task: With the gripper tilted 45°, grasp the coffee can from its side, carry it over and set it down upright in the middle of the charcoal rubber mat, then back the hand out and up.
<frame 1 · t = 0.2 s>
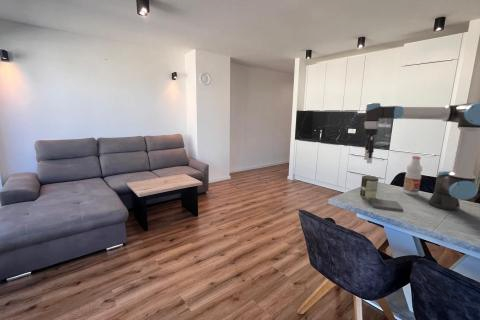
hand: (367, 161, 150), 28 cm above the table, tool pointing down, fingers open, 13 cm apart
mat: (385, 205, 150), on the table
coffee can: (367, 197, 166), on the table
fruit juice: (410, 193, 175), on the table
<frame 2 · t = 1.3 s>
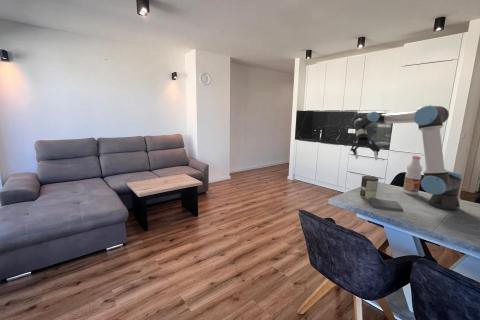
hand: (366, 158, 170), 26 cm above the table, tool tilted 45°, fingers open, 13 cm apart
nothing on the table moved.
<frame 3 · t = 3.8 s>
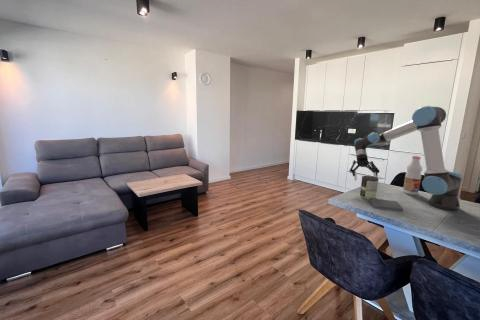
hand: (365, 180, 169), 11 cm above the table, tool tilted 45°, fingers open, 13 cm apart
nothing on the table moved.
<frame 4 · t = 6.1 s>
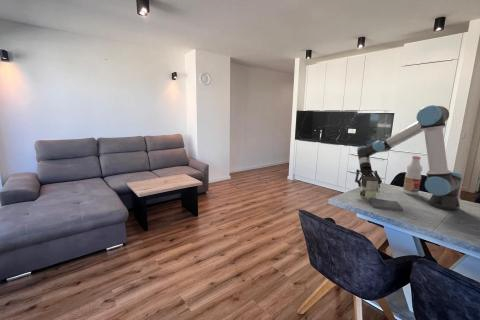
hand: (370, 191, 162), 5 cm above the table, tool tilted 45°, fingers closed on coffee can, 10 cm apart
coffee can: (367, 196, 166), on the table, touching gripper
everything else where it was.
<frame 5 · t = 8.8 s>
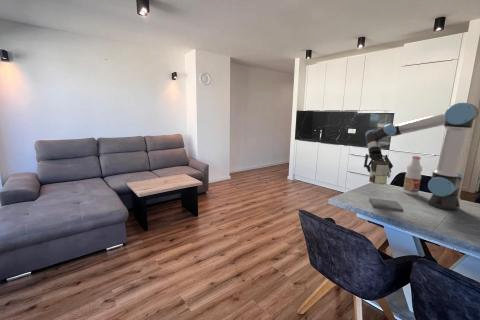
hand: (380, 176, 151), 18 cm above the table, tool tilted 45°, fingers closed on coffee can, 10 cm apart
coffee can: (377, 182, 155), point 13 cm above the table, touching gripper
everything else where it was.
when the fingers open (10 cm above the table, at t = 11.8 s): coffee can drops 4 cm, resting on mat.
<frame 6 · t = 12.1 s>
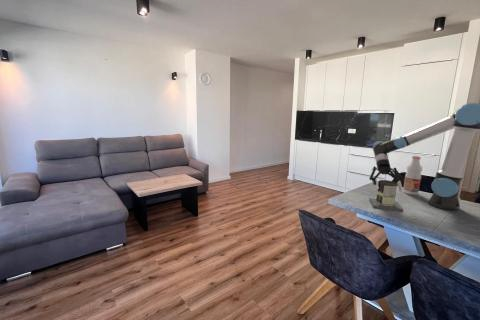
hand: (389, 190, 146), 11 cm above the table, tool tilted 45°, fingers open, 13 cm apart
coffee can: (384, 203, 150), point 1 cm above the table, touching mat
everything else where it was.
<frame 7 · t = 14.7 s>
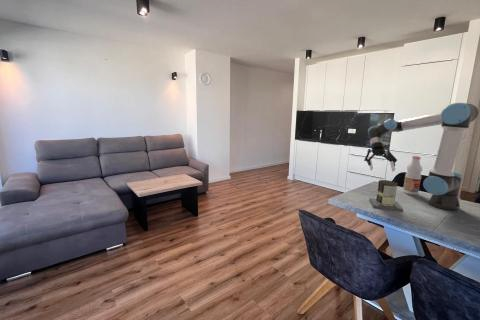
hand: (382, 169, 156), 21 cm above the table, tool tilted 45°, fingers open, 13 cm apart
nothing on the table moved.
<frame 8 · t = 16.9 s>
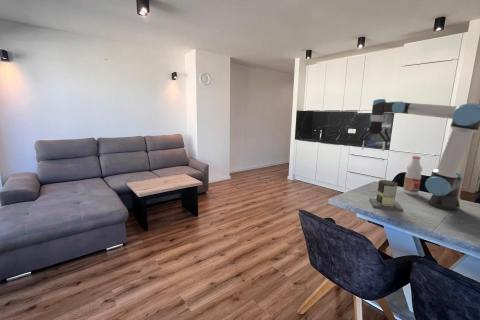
hand: (372, 150, 172), 32 cm above the table, tool pointing down, fingers open, 13 cm apart
nothing on the table moved.
at the end: coffee can inside the target area on the mat (0.3 cm from its centre), point 1.3 cm above the mat's base; coffee can tilted 0°; the gripper is holding nothing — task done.
